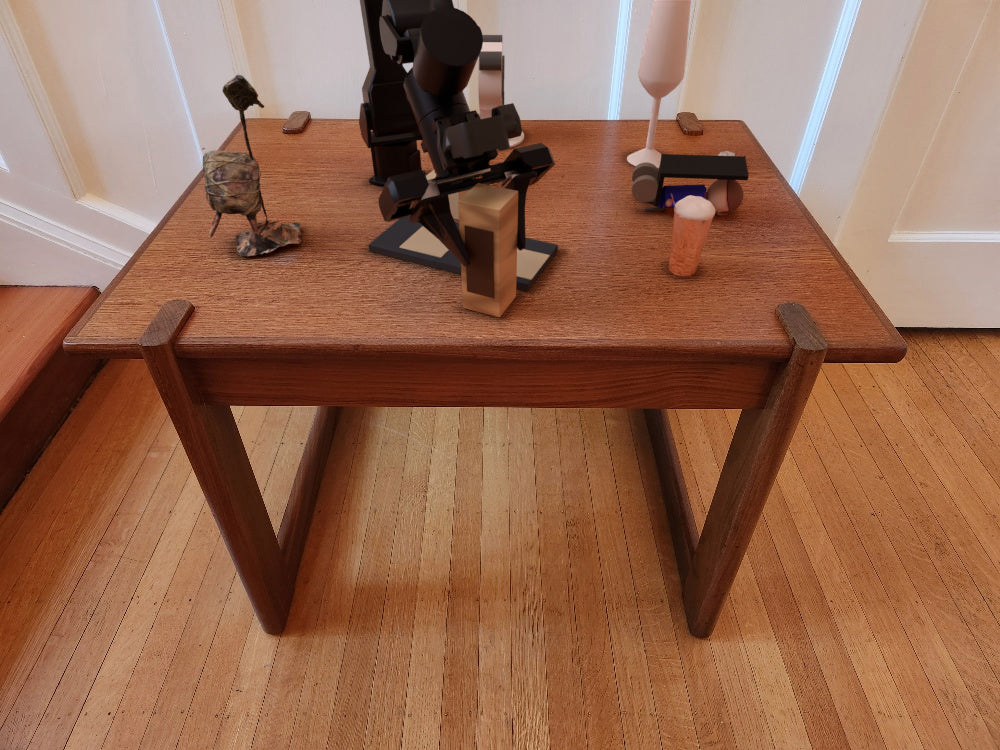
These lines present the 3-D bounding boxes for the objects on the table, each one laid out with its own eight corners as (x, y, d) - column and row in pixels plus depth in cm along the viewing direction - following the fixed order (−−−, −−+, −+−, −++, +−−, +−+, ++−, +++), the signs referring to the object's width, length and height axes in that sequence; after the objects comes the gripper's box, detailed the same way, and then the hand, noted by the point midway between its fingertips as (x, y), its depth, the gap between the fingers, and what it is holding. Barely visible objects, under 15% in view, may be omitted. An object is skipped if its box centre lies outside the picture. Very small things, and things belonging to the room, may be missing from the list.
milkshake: (652, 261, 80) (665, 185, 73) (694, 259, 80) (711, 183, 74) (662, 281, 76) (677, 203, 70) (705, 278, 77) (725, 201, 70)
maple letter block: (462, 308, 72) (456, 201, 63) (480, 287, 75) (478, 182, 67) (499, 318, 71) (499, 210, 62) (516, 296, 74) (518, 190, 65)
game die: (732, 168, 101) (737, 149, 99) (736, 178, 98) (741, 159, 96) (710, 167, 101) (714, 148, 99) (713, 177, 98) (717, 158, 96)
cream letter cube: (425, 212, 90) (422, 177, 86) (443, 196, 93) (441, 162, 90) (459, 220, 88) (458, 185, 85) (477, 203, 92) (476, 169, 88)
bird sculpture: (222, 230, 86) (171, 72, 73) (308, 225, 87) (273, 68, 74) (209, 262, 80) (151, 95, 67) (302, 256, 81) (263, 90, 68)
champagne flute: (677, 162, 103) (709, -10, 87) (647, 172, 100) (674, -4, 84) (648, 148, 107) (673, -18, 91) (618, 157, 104) (638, -13, 88)
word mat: (369, 251, 82) (367, 243, 81) (409, 217, 89) (408, 210, 88) (527, 291, 75) (528, 283, 74) (557, 251, 82) (558, 243, 81)
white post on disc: (524, 151, 106) (527, 53, 96) (456, 151, 106) (451, 53, 96) (523, 125, 115) (525, 33, 105) (460, 124, 115) (456, 32, 105)
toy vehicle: (630, 225, 90) (743, 224, 86) (631, 174, 85) (751, 169, 82) (631, 204, 95) (738, 201, 91) (632, 154, 90) (745, 149, 87)
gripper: (373, 92, 57) (434, 257, 57) (550, 62, 64) (604, 209, 64) (356, 149, 67) (407, 288, 67) (509, 117, 74) (556, 244, 74)
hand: (495, 257), depth 68 cm, fingers closed on maple letter block, 6 cm apart
